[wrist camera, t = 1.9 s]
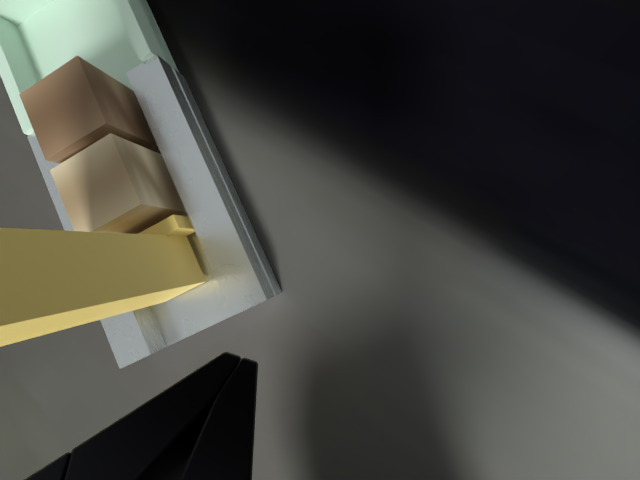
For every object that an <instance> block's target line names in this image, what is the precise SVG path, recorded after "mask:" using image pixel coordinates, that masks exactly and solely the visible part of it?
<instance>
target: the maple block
mask: <svg viewBox="0 0 640 480" xmlns="http://www.w3.org/2000/svg"><path fill="white" fill-rule="evenodd" d="M50 172H51V175H52V177H53V180H54V182H55V185H56V187H57V190H58V192H59V195H60V197H61V200H62V202H63V205H64V207H65V210H66V212H67V215H68V217H69V220H70V222H71V225H72V227H73V229H74V231H83V232H106V233H128V234H138V233H140V232H142V231H144V230H146V229H148V228H149V227H151V226H153V225H155V224H157V223H159V222H160V221H162V220H164V219H166V218H168V217H170V216H171V215H180V216H181V215H183V214H185V213H186V209H185V207H184V205H183V203H182V200H181V198H180V196H179V193H178V191H177V189H176V187H175V184H174V182H173V180H172V177H171V175H170V173H169V170H168V168H167V166H166V164H165V161H164V159H163V157H162V154H159V153H157V152H154V151H152V150H150V149H147V148H145V147H142V146H140V145H138V144H135V143H133V142H130V141H128V140H126V139H123V138H121V137H119V136H116V135H114V134H111V133H110V134H108V135H107V136H105V137H103V138H102V139H100V140H99V141H97V142H95V143H94V144H92V145H90V146H89V147H87V148H85V149H84V150H82V151H81V152H79V153H77V154H76V155H74V156H72V157H71V158H69V159H67V160H66V161H64V162H62V163H61V164H59V165H58V166H56V167H54V168H53V169H51V170H50Z"/></svg>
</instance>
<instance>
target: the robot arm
mask: <svg viewBox="0 0 640 480" xmlns="http://www.w3.org/2000/svg"><path fill="white" fill-rule="evenodd" d="M257 373H258V363H257V362H256V361H253V360H250V359H247V358H242V359H241V357H240V356H238V355H235V354H232V353H229V352H225V353H222V354H221V355H219V356H218V357H216V358H215V359H213V360H211V361H210V362H208V363H207V364H205V365H204V366H202V367H200V368H199V369H197V370H196V371H194V372H193V373H191V374H190V375H188V376H186V377H185V378H183V379H182V380H180V381H179V382H177V383H175V384H174V385H172V386H171V387H169V388H168V389H166V390H164V391H163V392H161V393H160V394H158V395H157V396H155V397H154V398H152V399H150V400H149V401H147V402H146V403H144V404H143V405H141V406H139V407H138V408H136V409H135V410H133V411H132V412H130V413H129V414H127V415H125V416H124V417H122V418H121V419H119V420H118V421H116V422H114V423H113V424H111V425H110V426H108V427H107V428H105V429H103V430H102V431H100V432H99V433H97V434H96V435H94V436H93V437H91V438H89V439H88V440H86V441H85V442H83V443H82V444H80V445H78V446H77V447H75V448H74V449H73V450H72V452H71V453H70V452H67V453H66V454H64V455H62V456H61V457H59V458H58V459H56V460H55V461H53V462H52V463H50V464H48V465H47V466H45V467H44V468H42V469H40V470H39V471H37V472H36V473H34V474H32V475H31V476H29V477H27V478H26V479H24V480H252V465H253V447H254V429H255V410H256V392H257Z"/></svg>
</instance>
